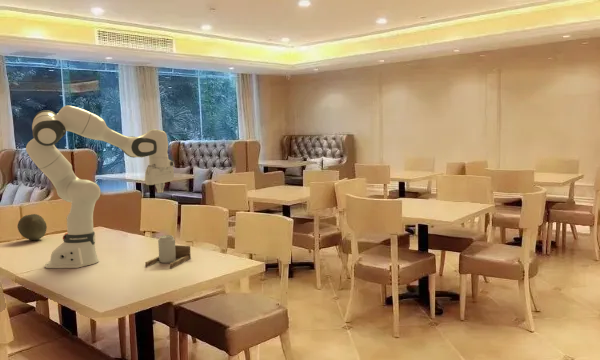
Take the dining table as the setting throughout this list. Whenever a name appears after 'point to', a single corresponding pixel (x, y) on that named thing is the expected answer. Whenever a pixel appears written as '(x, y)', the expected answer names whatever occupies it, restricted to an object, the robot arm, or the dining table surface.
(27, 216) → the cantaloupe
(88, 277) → the dining table surface
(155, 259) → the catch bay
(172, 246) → the can
